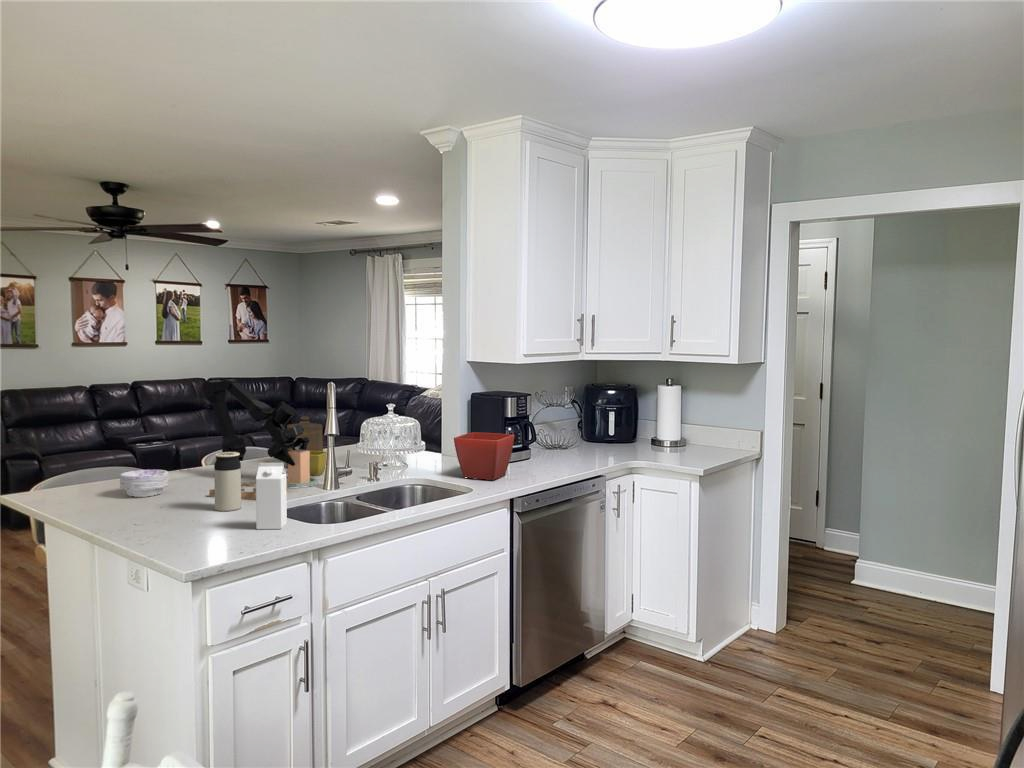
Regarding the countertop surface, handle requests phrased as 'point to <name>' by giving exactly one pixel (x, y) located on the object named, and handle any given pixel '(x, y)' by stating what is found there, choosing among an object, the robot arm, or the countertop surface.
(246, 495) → the brown flat frame
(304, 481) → the long pot
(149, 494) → the paper bowls
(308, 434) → the wooden container
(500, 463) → the plant pot
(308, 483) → the saucer
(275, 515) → the milk carton
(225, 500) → the travel mug
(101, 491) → the countertop surface
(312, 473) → the flower pot
